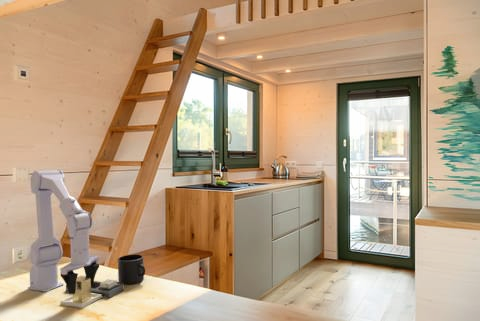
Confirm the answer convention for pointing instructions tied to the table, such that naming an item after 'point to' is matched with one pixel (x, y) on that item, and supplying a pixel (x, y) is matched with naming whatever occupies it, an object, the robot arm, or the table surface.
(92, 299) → the parts tray
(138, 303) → the table surface
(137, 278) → the mug
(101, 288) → the rail
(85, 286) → the wooden block
